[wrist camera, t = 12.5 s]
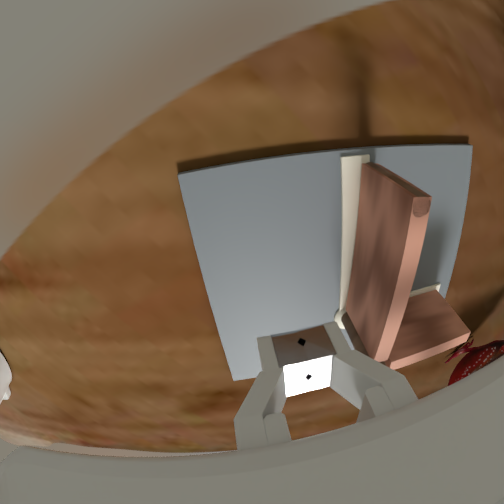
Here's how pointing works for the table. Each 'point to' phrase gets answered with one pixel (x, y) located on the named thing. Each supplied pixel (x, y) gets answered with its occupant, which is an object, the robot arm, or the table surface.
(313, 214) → the card
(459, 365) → the decorative bird figurine
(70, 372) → the table surface
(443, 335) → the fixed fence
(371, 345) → the gate panel
